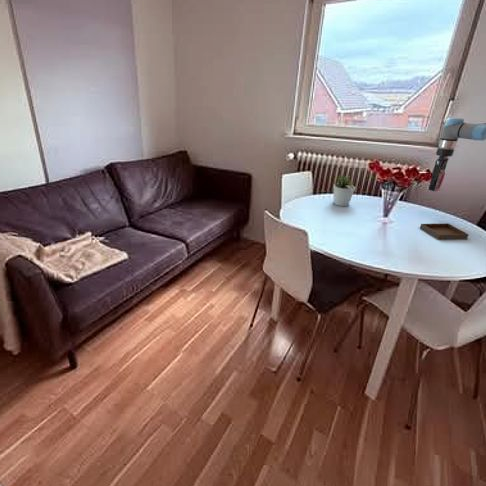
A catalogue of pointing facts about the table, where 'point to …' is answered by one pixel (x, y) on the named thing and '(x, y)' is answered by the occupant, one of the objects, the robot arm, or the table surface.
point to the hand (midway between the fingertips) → (433, 189)
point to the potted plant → (343, 191)
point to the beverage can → (439, 181)
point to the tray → (444, 231)
